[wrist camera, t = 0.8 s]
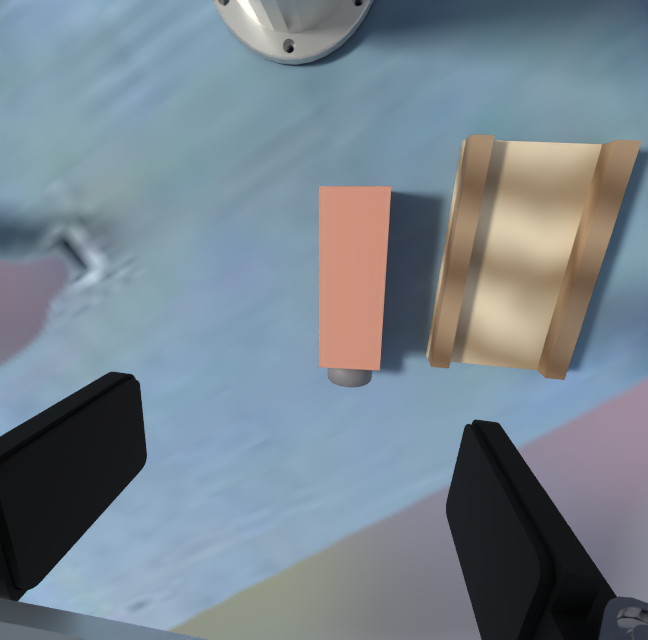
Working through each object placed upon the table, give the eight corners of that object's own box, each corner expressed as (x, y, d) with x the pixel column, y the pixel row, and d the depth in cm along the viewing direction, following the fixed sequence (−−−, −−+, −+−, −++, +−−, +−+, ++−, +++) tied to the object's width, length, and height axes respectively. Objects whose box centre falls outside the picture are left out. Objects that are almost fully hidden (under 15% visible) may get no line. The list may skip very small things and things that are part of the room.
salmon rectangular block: (326, 191, 28) (319, 186, 23) (386, 191, 27) (391, 186, 22) (325, 363, 32) (319, 388, 28) (376, 365, 32) (378, 392, 27)
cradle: (462, 142, 25) (472, 134, 23) (614, 147, 24) (641, 140, 22) (425, 354, 31) (431, 366, 28) (548, 366, 30) (564, 379, 27)
